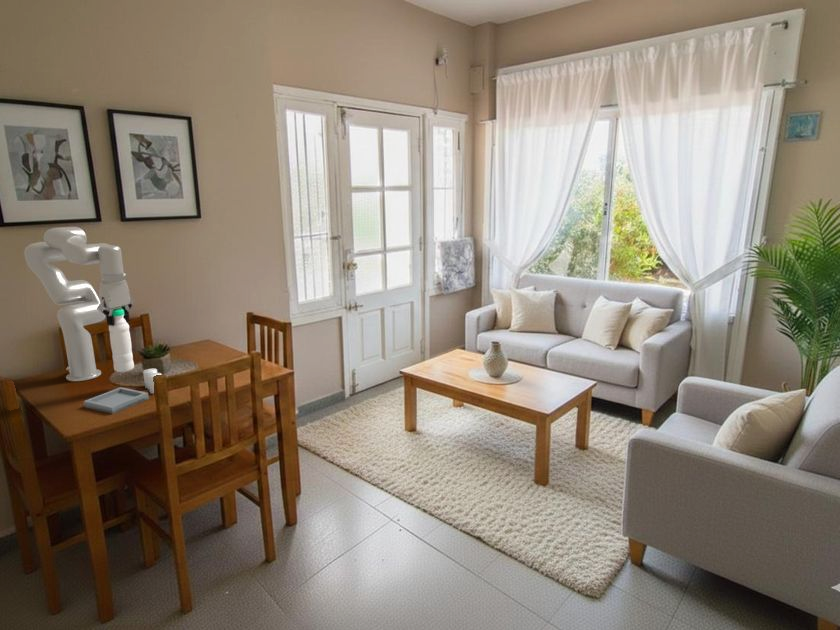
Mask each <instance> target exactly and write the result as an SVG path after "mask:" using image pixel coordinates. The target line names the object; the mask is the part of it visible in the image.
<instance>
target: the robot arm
mask: <svg viewBox="0 0 840 630" xmlns="http://www.w3.org/2000/svg"><path fill="white" fill-rule="evenodd" d="M43 240H44V241H39V242H34V243H33V242H32V243H30V244H29V245H27V246H26V247H25V249H24V259H25V261H26V264H27V266H28V268H29V269H30V270H31V271H32V273H33V274H35V276H36V277H37V278H38V279H39V280H40V282H41V283H42V286H43V287H44V289H45V291H46V293H47V295H48V296H49V298H50V299H51V301H52V303H54V304H55V305H57V306H63V307H61V308H60V309H58V311H57V312H56V318H57V321H58V323H59V325H60V328H61V331H62V335H63V341H64V346H65V351H66V352H65V353H66V357H67V363H68V366H67V367H66V368H65V369H66V371H68V372H69V374H67V375H66V376H65V378H66V380H67V381H68V382H82V381H83V382H84V381H89V380H92V379H95V378H98V377H100V376H101V375H102V371H101V370H100V369H97V364H96V360H95V352H94V345H93V341H92V335H91V333H90V332H89V331H88V330H87V329H85V328H84V326H88V325H93V324H97V323H100V322H102V321H104V320H105V318H106V324H107V325H108V326H109V325H111V326H114V325H115V323H114V316H113V315H112V312H113V309H117V308H120V309H123V310H124V316H123V318H124V319H125V320H126V322H127V323H129V322H130V311H131V309H132V306H133V305H134V304H135V302H136V300H135V299H134V298H133V297H132V296H131V294H130V289H129V285H128V282H127V280H126V279H125V277H127V273H125V272H124V262H123V255H122V249H121V247H120V246H118V245H111V244H109V243H105V242H103V243H91V244H90V243H89V244H87V240H88V237H87V234H86V231H84V230H83V229H82V228H80V227H78V226H63V227H52V228H49V229H47V230H46V231H45V232H44V234H43ZM62 261H68V262H70V263H72V264H76V265H80V266H87V265H95V264H99V268H100V276H101V282H100V283H99V286H98V287H99V288H98V289H99V291H98V292H99V293H98V294H97V291H95V289H94V286H93V285H92V284H91V283H90V282H89V281H87V280H85V279H79V280H78V279H77V280H68V279H67V277H66V276H65V273H64V272H63V271H62V270H61V269H59V268H58V267H57V266H55V265H53V264H52V263H51V262H62Z"/></svg>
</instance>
